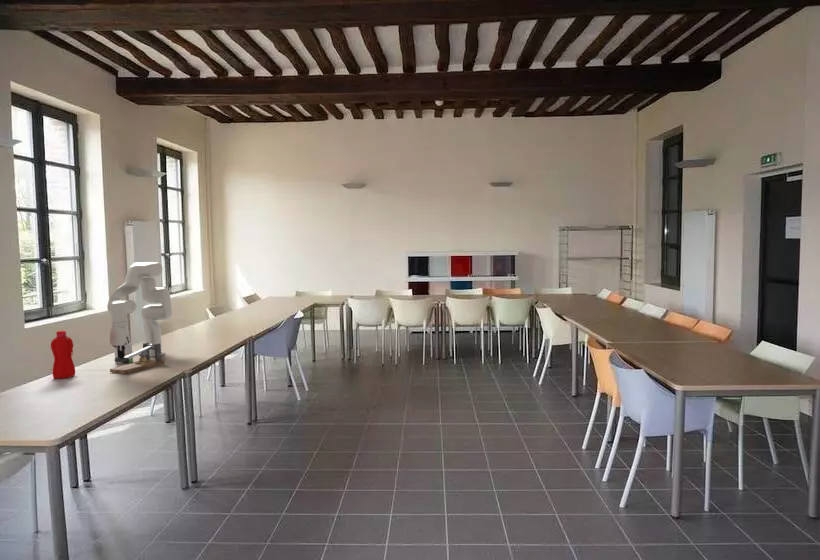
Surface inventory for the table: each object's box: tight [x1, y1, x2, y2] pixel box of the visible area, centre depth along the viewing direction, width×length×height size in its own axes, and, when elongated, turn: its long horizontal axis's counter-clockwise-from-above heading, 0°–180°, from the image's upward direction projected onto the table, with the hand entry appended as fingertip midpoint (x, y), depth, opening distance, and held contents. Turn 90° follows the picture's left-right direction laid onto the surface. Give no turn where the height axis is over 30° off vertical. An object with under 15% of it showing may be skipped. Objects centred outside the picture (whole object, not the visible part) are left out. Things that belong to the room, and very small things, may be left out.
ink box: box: [113, 342, 134, 365], centre depth 333 cm, size 8×5×12 cm, turn 92°
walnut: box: [138, 356, 147, 362], centre depth 323 cm, size 4×4×4 cm
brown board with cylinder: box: [109, 342, 165, 375], centre depth 319 cm, size 13×26×12 cm, turn 160°
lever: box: [114, 344, 155, 363], centre depth 320 cm, size 25×7×4 cm, turn 160°
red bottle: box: [50, 330, 76, 380], centre depth 301 cm, size 9×11×25 cm
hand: (121, 357), depth 309 cm, fingers closed
